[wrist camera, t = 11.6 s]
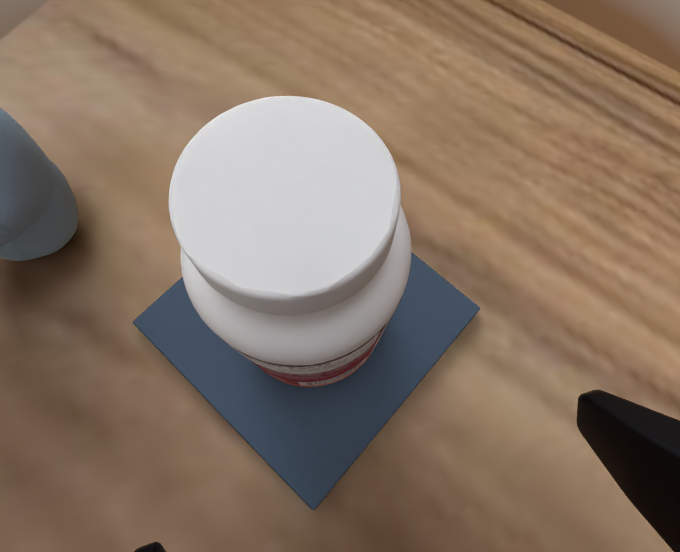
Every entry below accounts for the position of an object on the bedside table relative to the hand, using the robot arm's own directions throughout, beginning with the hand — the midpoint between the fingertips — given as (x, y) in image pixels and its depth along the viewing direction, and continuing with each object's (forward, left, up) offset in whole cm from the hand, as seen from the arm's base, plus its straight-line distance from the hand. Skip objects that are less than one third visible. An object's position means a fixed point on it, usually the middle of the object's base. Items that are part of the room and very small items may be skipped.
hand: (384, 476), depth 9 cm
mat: (+5, -3, -9) cm, 11 cm away
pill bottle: (+5, -3, -9) cm, 11 cm away
